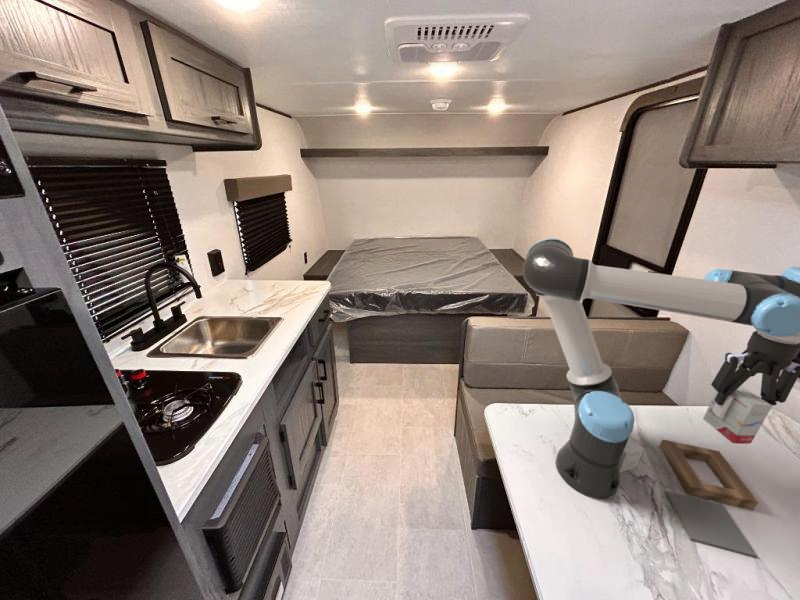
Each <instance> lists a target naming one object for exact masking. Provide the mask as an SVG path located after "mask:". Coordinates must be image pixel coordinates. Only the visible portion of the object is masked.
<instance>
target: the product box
mask: <svg viewBox="0 0 800 600" xmlns="http://www.w3.org/2000/svg"><path fill="white" fill-rule="evenodd" d="M643 451H644V448H643V447H641V446H640V445H639V444H638V443H637V442H635V440H633V439H632V438H631V437H629V439H628V441H627V444H626V446H625V449H624V451H623V454H622V456H621V458H620V461H619V463H618V466H619V473H622V472H625V471H630V470H634V469H636V468H637V466H638V463H639V460H640V458H641V456H642V453H643Z"/></svg>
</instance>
